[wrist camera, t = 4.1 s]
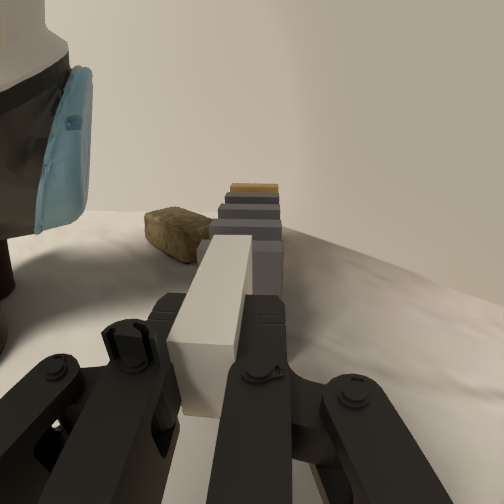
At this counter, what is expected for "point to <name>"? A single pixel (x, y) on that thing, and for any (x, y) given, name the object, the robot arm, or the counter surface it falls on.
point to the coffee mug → (5, 271)
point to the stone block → (177, 232)
